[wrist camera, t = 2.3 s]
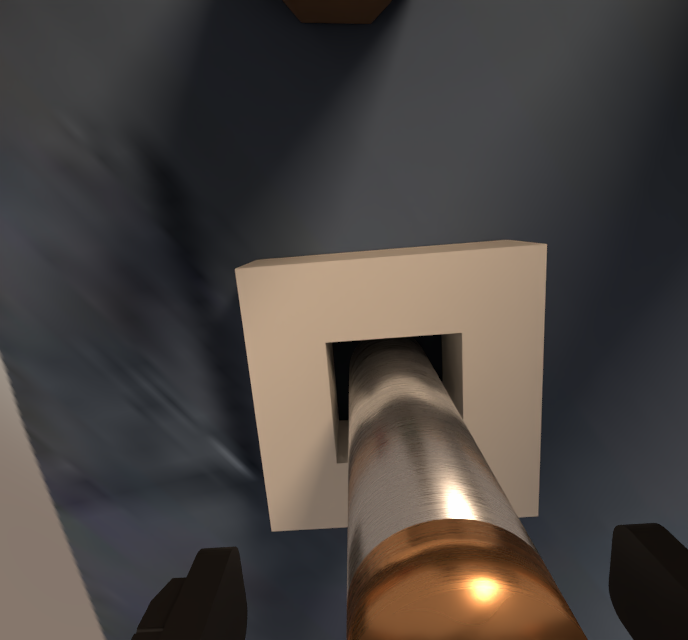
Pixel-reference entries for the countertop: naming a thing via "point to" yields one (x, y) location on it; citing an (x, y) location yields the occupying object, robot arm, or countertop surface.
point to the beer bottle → (337, 10)
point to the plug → (433, 518)
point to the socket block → (390, 322)
